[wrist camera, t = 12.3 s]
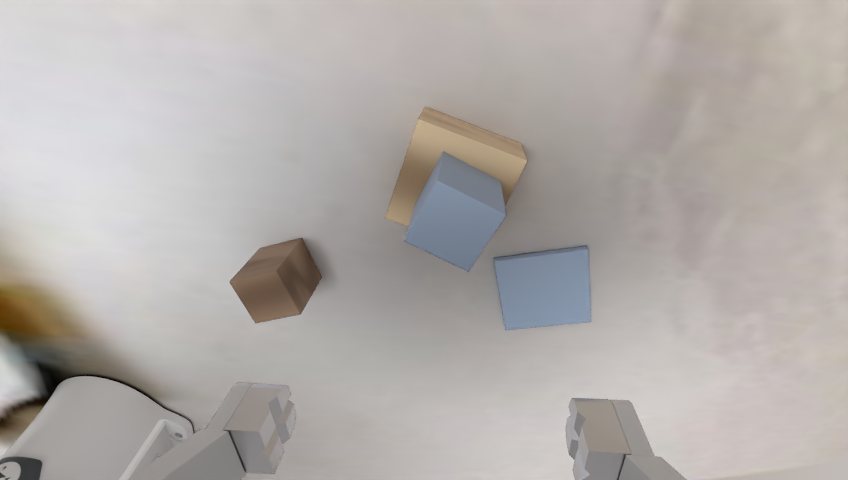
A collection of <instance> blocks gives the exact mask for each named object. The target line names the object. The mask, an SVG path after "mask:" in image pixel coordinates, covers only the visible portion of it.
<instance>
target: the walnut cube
mask: <svg viewBox="0 0 848 480" xmlns="http://www.w3.org/2000/svg"><path fill="white" fill-rule="evenodd" d="M321 278H322V277H321V275H320V273H319V271H318V269H317V267H316V265H315V263H314V261H313V259H312V257H311V255H310V253H309V251H308V249H307V247H306V245H305V243H304V241H303V239H302V238H299V239H295V240H291V241H287V242H283V243H279V244H275V245H271V246H267V247H263V248H260V249H259V250H258V251H257V252H256V253H255V254H254V255H253V256H252V258H251V259H250V260H249V261H248V262H247V263H246V264H245V265H244V266H243V267H242V269H241V270H240V271H239V272H238V273H237V274H236V275H235V276H234V277H233V278H232V279H231V281H230V284H231V285H232V287H233V289H234V290H235V292H236V293H237V295H238V296H239V298H240V300H241V301H242V303H243V304H244V306H245V307H246V309H247V311H248V312H249V314H250V315H251V317H252V319H253V320H254V322H255V323H260V322H265V321H270V320H275V319H280V318H285V317H290V316H295V315H300V314H301V313H302V311H303V309H304V308H305V306H306V304H307V302H308V301H309V299H310V297H311V295H312V294H313V292H314V290H315V289H316V287H317V285H318V283H319V282H320V280H321Z"/></svg>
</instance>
